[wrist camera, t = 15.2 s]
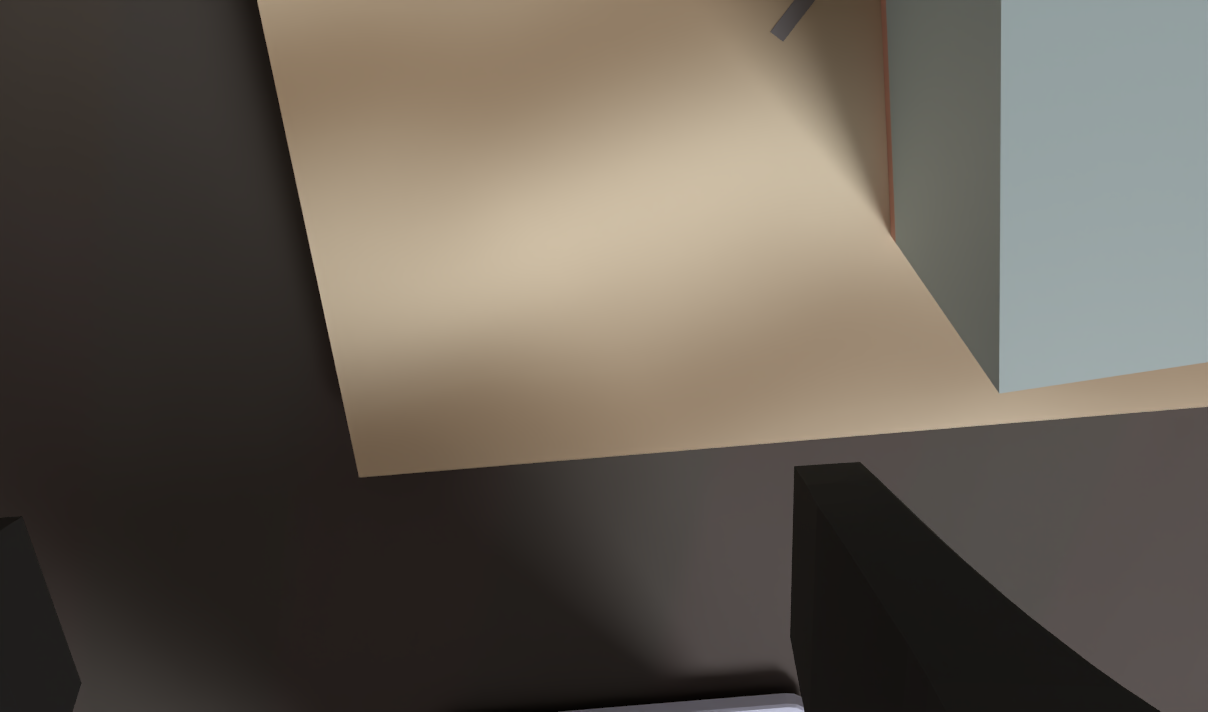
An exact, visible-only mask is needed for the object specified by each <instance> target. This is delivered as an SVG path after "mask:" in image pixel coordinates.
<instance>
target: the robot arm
mask: <svg viewBox="0 0 1208 712" xmlns="http://www.w3.org/2000/svg"><path fill="white" fill-rule="evenodd" d="M790 638H791V643H792V649H793V654H794V660H795V665H796V670H797V676H798V681H799V686H800V692H801V696H798V695H796V694H791V693H780V694H768V695H756V696H744V697H731V698H719V699H707V700H695V701H682V702H670V703H658V704H646V705H634V706H621V707H609V708H597V709H585V710H572V711H560V712H1160V711H1159V710H1157V709H1156V708H1154V707H1153V706H1151V705H1150V704H1148V703H1147V702H1145V701H1144V700H1142V699H1141V698H1139V697H1138V696H1136V695H1135V694H1133V693H1132V692H1130V691H1129V690H1127V689H1126V688H1124V687H1123V686H1121V685H1120V684H1118V683H1117V682H1116V681H1114V680H1113V679H1111V678H1110V677H1109V676H1107V675H1106V674H1104V673H1103V672H1102V671H1100V670H1099V669H1097V668H1096V667H1095V666H1093V665H1092V664H1090V663H1089V662H1088V661H1086V660H1085V659H1084V658H1082V657H1081V656H1080V655H1079V654H1077V653H1076V652H1075V651H1073V650H1072V649H1071V648H1069V647H1068V646H1067V645H1066V644H1064V643H1063V642H1062V641H1060V640H1059V639H1058V638H1057V637H1055V636H1054V635H1053V634H1051V633H1050V632H1049V631H1047V630H1046V629H1045V628H1044V627H1042V626H1041V625H1040V624H1038V623H1037V622H1036V621H1035V620H1033V619H1032V618H1031V617H1029V616H1028V615H1027V614H1026V613H1025V612H1023V611H1022V610H1021V609H1020V608H1019V607H1017V606H1016V605H1015V604H1014V603H1012V602H1011V601H1010V600H1009V599H1008V598H1007V597H1005V596H1004V595H1003V594H1002V593H1001V592H1000V591H999V590H997V589H996V588H995V587H994V586H993V585H992V584H991V583H989V582H988V581H987V580H986V579H985V578H984V577H982V576H981V575H980V574H979V573H978V572H977V571H976V570H974V569H973V568H972V567H971V566H970V565H969V564H968V563H966V562H965V561H964V560H963V559H962V558H961V557H960V556H959V555H958V554H957V553H955V552H954V551H953V550H952V549H951V548H950V547H949V546H948V545H947V544H946V543H945V542H944V541H942V540H941V539H940V538H939V537H938V536H937V535H936V534H935V533H934V532H933V531H932V530H931V529H930V528H929V527H928V526H927V525H925V524H924V523H923V522H922V521H921V520H920V519H919V518H918V517H917V516H916V515H915V514H914V513H913V512H912V511H911V510H910V509H909V508H908V507H907V506H906V505H905V504H904V503H903V502H901V501H900V500H899V499H898V498H897V497H896V496H895V495H894V494H893V493H892V492H891V491H890V490H889V489H888V488H887V487H886V486H885V485H884V484H883V483H882V482H881V481H880V480H879V479H878V478H876V477H875V476H874V475H873V474H872V473H871V472H870V471H869V470H868V469H867V468H866V467H865V466H864V465H862V464H861V463H860V462H854V463H838V464H823V465H807V466H794V504H793V545H792V587H791V628H790ZM80 686H81V681H80V678H79V675H78V672H77V670H76V667H75V664H74V661H73V658H72V655H71V653H70V650H69V647H68V644H67V641H66V639H65V636H64V633H63V630H62V627H61V624H60V622H59V619H58V616H57V613H56V610H55V608H54V605H53V602H52V599H51V596H50V594H49V591H48V588H47V585H46V582H45V579H44V577H43V574H42V571H41V568H40V565H39V563H38V560H37V557H36V554H35V551H34V549H33V546H32V543H31V540H30V537H29V534H28V532H27V529H26V526H25V523H24V520H23V518H22V516H21V517H5V518H0V712H72V711H73V708H74V705H75V702H76V699H77V695H78V692H79V689H80Z"/></svg>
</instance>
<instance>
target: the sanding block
mask: <svg viewBox="0 0 1208 712" xmlns="http://www.w3.org/2000/svg"><path fill="white" fill-rule="evenodd" d="M881 19H882V43H883V66H884V89H885V113H886V136H887V159H888V183H889V206H890V229H891V237H892V238H893V240H894V241H895V243H896V244H897V246H898V247H899V249H900V250H901V251H902V253H903V254H904V256H905V257H906V259H907V260H908V262H909V263H910V265H911V266H912V267H913V269H914V270H915V272H916V273H917V275H918V276H919V278H920V279H921V281H922V282H923V283H924V285H925V286H926V288H927V289H928V291H929V292H930V294H931V295H932V297H933V298H934V299H935V301H936V302H937V304H938V305H939V307H940V308H941V310H942V311H943V313H944V314H945V315H946V317H947V318H948V320H949V321H950V323H951V324H952V326H953V327H954V329H955V330H956V331H957V333H958V334H959V336H960V337H961V339H962V340H963V342H964V343H965V345H966V346H967V347H968V349H969V350H970V352H971V353H972V355H973V356H974V358H975V359H976V361H977V362H978V363H979V365H980V366H981V368H982V369H983V371H984V372H985V374H986V375H987V376H988V378H989V379H990V381H991V382H992V384H993V385H994V387H995V388H996V390H997V391H998V392H999V394H1000V393H1006V392H1013V391H1020V390H1026V389H1033V388H1040V387H1046V386H1053V385H1060V384H1066V383H1073V382H1079V381H1086V380H1093V379H1099V378H1106V377H1113V376H1119V375H1126V374H1133V373H1139V372H1146V371H1153V370H1159V369H1166V368H1172V367H1179V366H1186V365H1192V364H1199V363H1206V362H1208V0H881Z"/></svg>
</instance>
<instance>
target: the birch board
mask: <svg viewBox="0 0 1208 712" xmlns="http://www.w3.org/2000/svg"><path fill="white" fill-rule="evenodd" d="M257 2H258V7H259V12H260V16H261V21H262V26H263V30H264V35H265V40H266V44H267V49H268V54H269V58H270V63H271V68H272V72H273V77H274V82H275V86H276V91H277V96H278V100H279V105H280V110H281V114H282V119H283V124H284V128H285V133H286V138H287V142H288V147H289V152H290V156H291V161H292V166H293V171H294V175H295V180H296V185H297V189H298V194H299V199H300V203H301V208H302V213H303V217H304V222H305V227H306V231H307V236H308V241H309V245H310V250H311V255H312V259H313V264H314V269H315V273H316V278H317V283H318V287H319V292H320V297H321V301H322V306H323V311H324V315H325V320H326V325H327V329H328V334H329V339H330V344H331V348H332V353H333V358H334V362H335V367H336V372H337V376H338V381H339V386H340V390H341V395H342V400H343V404H344V409H345V414H346V418H347V423H348V428H349V432H350V437H351V442H352V446H353V451H354V456H355V460H356V465H357V470H358V474H359V477H371V476H383V475H395V474H407V473H419V472H431V471H443V470H455V469H467V468H479V467H491V466H503V465H515V464H527V463H539V462H551V461H562V460H574V459H586V458H598V457H610V456H622V455H634V454H646V453H658V452H670V451H682V450H694V449H706V448H718V447H730V446H742V445H754V444H766V443H777V442H789V441H801V440H813V439H825V438H837V437H849V436H861V435H873V434H885V433H897V432H909V431H921V430H933V429H945V428H957V427H969V426H980V425H992V424H1004V423H1016V422H1028V421H1040V420H1052V419H1064V418H1076V417H1088V416H1100V415H1112V414H1124V413H1136V412H1148V411H1160V410H1172V409H1184V408H1195V407H1207V406H1208V362H1206V363H1199V364H1192V365H1186V366H1179V367H1172V368H1166V369H1159V370H1153V371H1146V372H1139V373H1133V374H1126V375H1119V376H1113V377H1106V378H1099V379H1093V380H1086V381H1079V382H1073V383H1066V384H1060V385H1053V386H1046V387H1040V388H1033V389H1026V390H1020V391H1013V392H1006V393H1000V394H999V392H998V391H997V390H996V388H995V387H994V385H993V384H992V382H991V381H990V379H989V378H988V376H987V375H986V374H985V372H984V371H983V369H982V368H981V366H980V365H979V363H978V362H977V361H976V359H975V358H974V356H973V355H972V353H971V352H970V350H969V349H968V347H967V346H966V345H965V343H964V342H963V340H962V339H961V337H960V336H959V334H958V333H957V331H956V330H955V329H954V327H953V326H952V324H951V323H950V321H949V320H948V318H947V317H946V315H945V314H944V313H943V311H942V310H941V308H940V307H939V305H938V304H937V302H936V301H935V299H934V298H933V297H932V295H931V294H930V292H929V291H928V289H927V288H926V286H925V285H924V283H923V282H922V281H921V279H920V278H919V276H918V275H917V273H916V272H915V270H914V269H913V267H912V266H911V265H910V263H909V262H908V260H907V259H906V257H905V256H904V254H903V253H902V251H901V250H900V249H899V247H898V246H897V244H896V243H895V241H894V240H893V238H892V237H891V229H890V206H889V183H888V159H887V136H886V113H885V89H884V66H883V43H882V19H881V0H257Z"/></svg>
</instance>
